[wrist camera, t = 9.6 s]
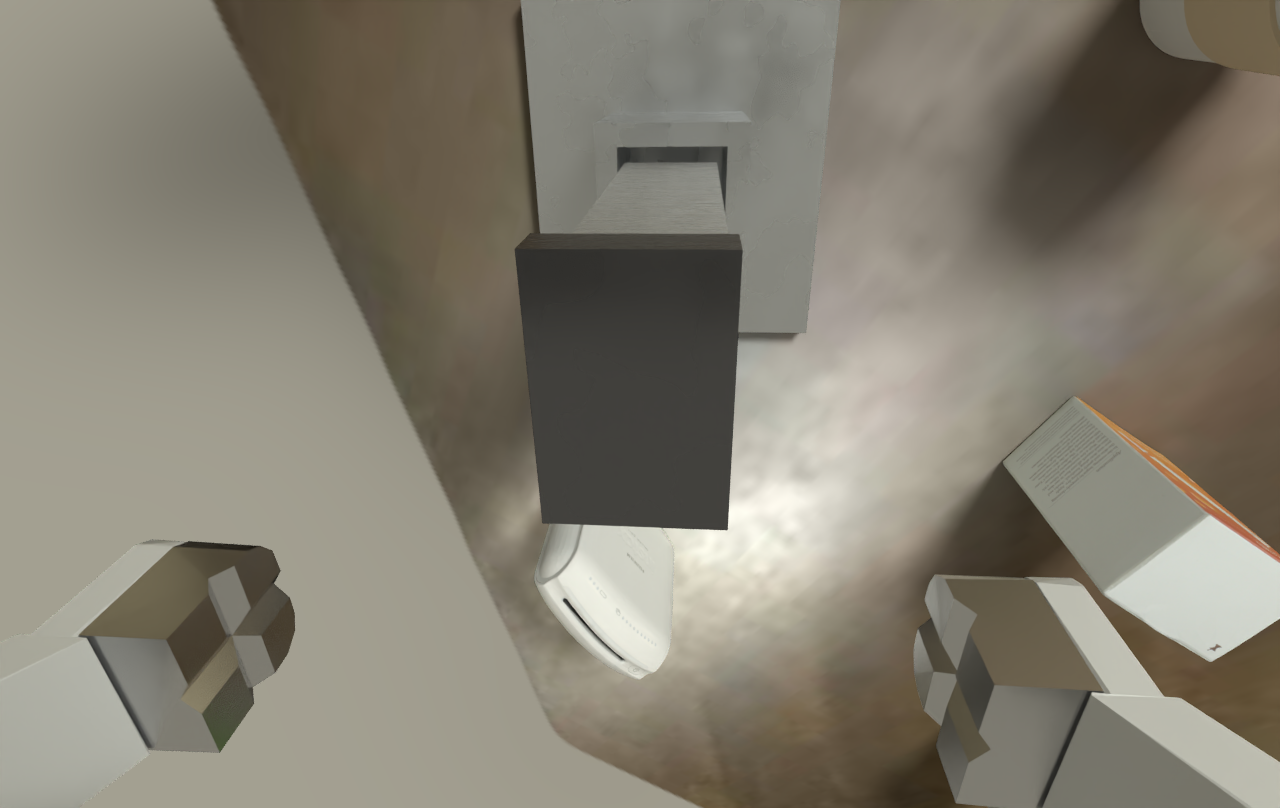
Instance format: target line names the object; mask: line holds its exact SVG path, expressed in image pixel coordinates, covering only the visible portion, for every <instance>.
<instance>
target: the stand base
mask: <svg viewBox="0 0 1280 808" xmlns="http://www.w3.org/2000/svg"><path fill="white" fill-rule="evenodd" d="M521 8H522V21H523V33H524V45H525V57H526V69H527V81H528V93H529V105H530V117H531V129H532V141H533V153H534V165H535V177H536V189H537V201H538V214H539V226H540V233H563V234H572V233H573V232H574V230H575V229H576V228H577V226H578V225H579V224H580V222H581V221H582V220H583V218H584V217H585V216H586V214H587V213H588V212H589V210H590V209H591V208H592V206H593V205H594V204H595V202H596V201H597V200H598V198H599V197H600V196H601V194H602V193H603V192H604V190H605V189H606V188H607V186H608V185H609V184H610V182H611V181H612V180H613V178H614V177H615V176H616V174H617V173H618V171H619V170H620V169H621V167H622V166H623V165H624V163H662V162H717V166H718V173H719V179H720V185H721V191H722V198H723V204H724V210H725V216H726V223H727V229H728V234H739V235H740V240H741V244H742V249H743V254H742V273H741V291H740V309H739V328H738V332H760V333H806V329H807V319H808V310H809V300H810V290H811V281H812V271H813V261H814V251H815V242H816V232H817V222H818V213H819V203H820V193H821V184H822V174H823V164H824V155H825V145H826V135H827V126H828V116H829V106H830V97H831V87H832V77H833V68H834V58H835V48H836V39H837V29H838V19H839V10H840V0H521Z"/></svg>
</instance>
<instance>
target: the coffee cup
mask: <svg viewBox="0 0 1280 808" xmlns="http://www.w3.org/2000/svg"><path fill="white" fill-rule="evenodd" d="M1140 15H1141V20H1142V24H1143V27H1144V29H1145V31H1146V33H1147V35H1148V37H1149V38H1150V40H1151V41H1152V42H1153V43H1154V44H1155V45H1156V46H1157V47H1158V48H1159V49H1160V50H1162V51H1163V52H1165V53H1167V54H1169V55H1171V56H1174V57H1177V58H1182V59H1189V60H1197V61H1205V62H1212V63H1218V64H1220V65H1222V66H1225V67H1228V68H1232V69H1237V70H1243V71H1250V72H1257V73H1263V74H1270V75H1276V76H1280V0H1140Z"/></svg>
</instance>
